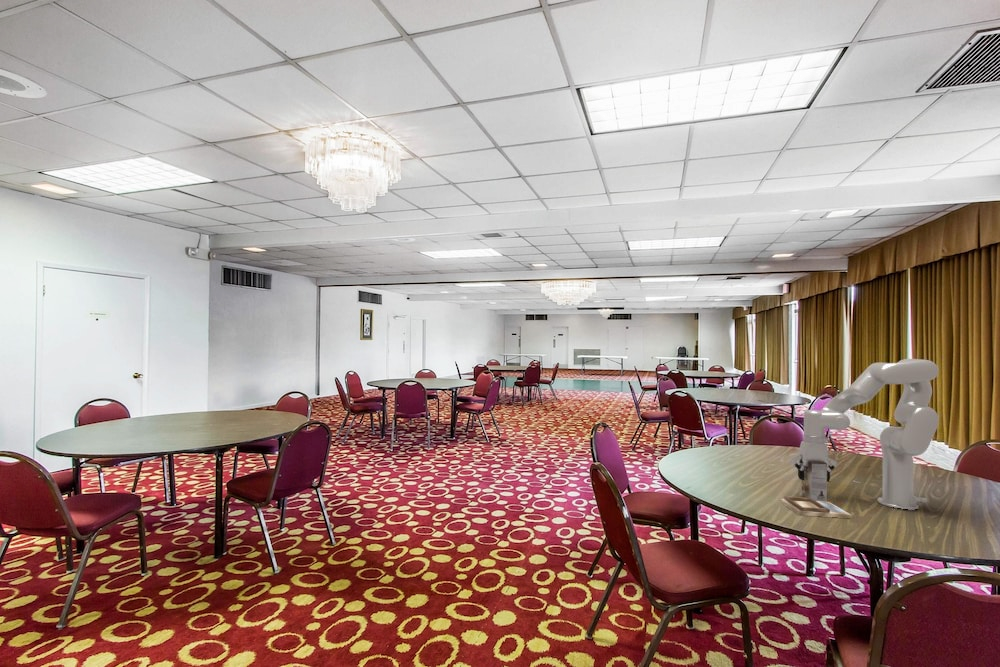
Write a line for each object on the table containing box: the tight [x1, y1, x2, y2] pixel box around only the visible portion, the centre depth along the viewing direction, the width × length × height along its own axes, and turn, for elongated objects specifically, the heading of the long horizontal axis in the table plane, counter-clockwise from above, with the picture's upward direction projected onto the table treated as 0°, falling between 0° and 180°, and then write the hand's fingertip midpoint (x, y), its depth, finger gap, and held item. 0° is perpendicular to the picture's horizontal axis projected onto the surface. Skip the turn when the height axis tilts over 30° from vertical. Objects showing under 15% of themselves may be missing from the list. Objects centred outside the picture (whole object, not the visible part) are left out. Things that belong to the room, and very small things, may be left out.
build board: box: [780, 496, 852, 519], centre depth 177 cm, size 18×14×3 cm
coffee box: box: [801, 461, 828, 502], centre depth 192 cm, size 9×6×16 cm
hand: (813, 480), depth 192 cm, fingers open, 9 cm apart
